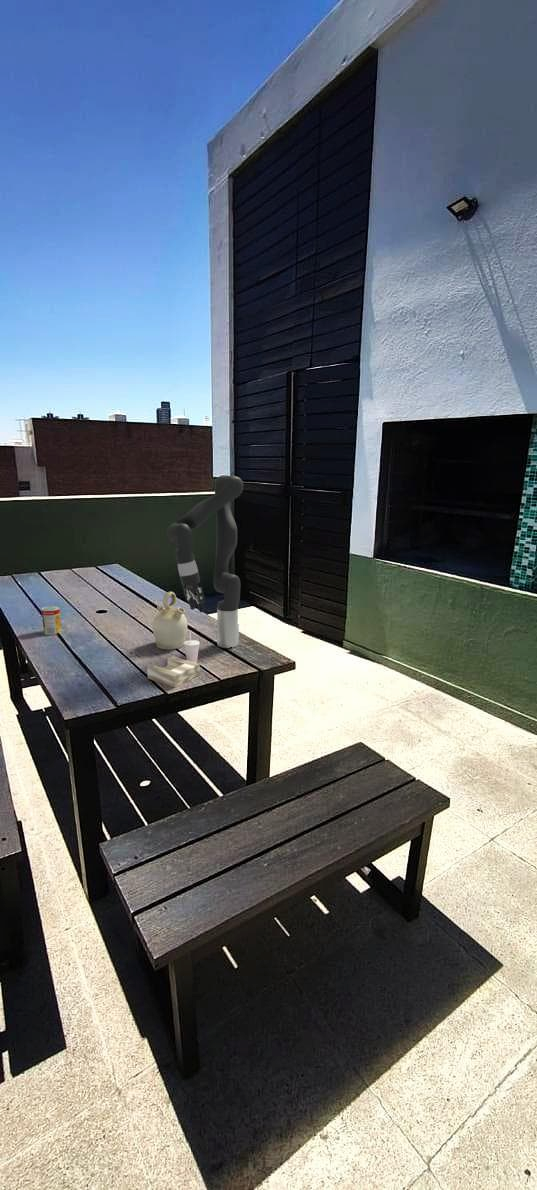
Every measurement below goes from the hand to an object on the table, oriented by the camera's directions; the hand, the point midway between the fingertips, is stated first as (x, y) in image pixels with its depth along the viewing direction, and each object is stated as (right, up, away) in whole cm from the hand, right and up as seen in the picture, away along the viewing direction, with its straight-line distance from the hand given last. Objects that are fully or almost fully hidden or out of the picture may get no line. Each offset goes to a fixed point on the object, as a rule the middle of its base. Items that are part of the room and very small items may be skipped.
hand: (197, 610), depth 200 cm
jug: (-15, -17, +21) cm, 31 cm away
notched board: (-7, -25, -12) cm, 29 cm away
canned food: (-74, -12, +33) cm, 82 cm away
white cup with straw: (-2, -23, 0) cm, 23 cm away
